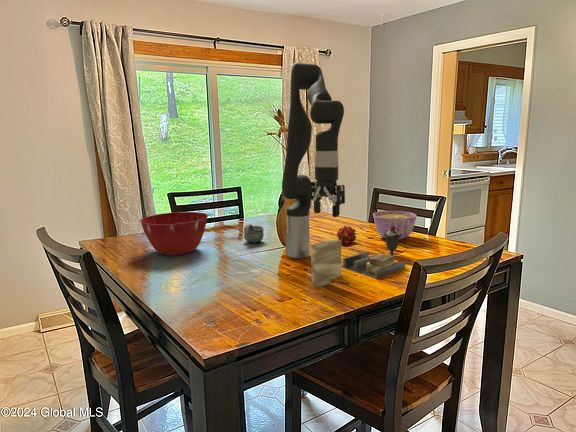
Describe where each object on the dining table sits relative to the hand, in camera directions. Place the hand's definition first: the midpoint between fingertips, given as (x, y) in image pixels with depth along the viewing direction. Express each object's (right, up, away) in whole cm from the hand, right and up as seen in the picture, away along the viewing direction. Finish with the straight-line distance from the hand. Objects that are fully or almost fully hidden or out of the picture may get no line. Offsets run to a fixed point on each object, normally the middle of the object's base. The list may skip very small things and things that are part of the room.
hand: (326, 214), depth 137 cm
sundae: (+29, -18, +30) cm, 45 cm away
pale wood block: (0, -23, +5) cm, 23 cm away
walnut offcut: (+20, -17, +11) cm, 29 cm away
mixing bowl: (-61, -16, +47) cm, 79 cm away
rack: (+18, -20, +15) cm, 31 cm away
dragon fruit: (+14, -13, +55) cm, 58 cm away
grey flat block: (+21, -20, +12) cm, 31 cm away
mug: (-29, -13, +59) cm, 66 cm away
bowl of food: (+38, -11, +62) cm, 74 cm away
